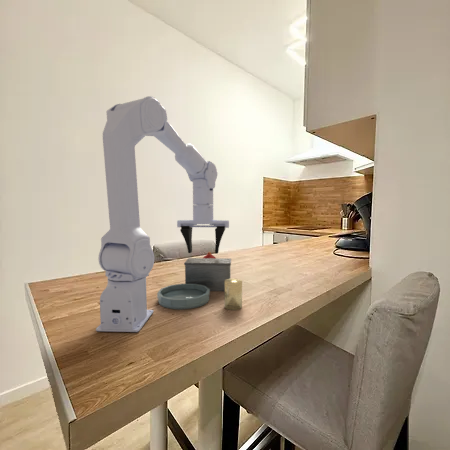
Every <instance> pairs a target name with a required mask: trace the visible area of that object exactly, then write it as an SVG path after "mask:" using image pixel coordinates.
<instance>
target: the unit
mask: <svg viewBox="0 0 450 450" xmlns="http://www.w3.org/2000/svg"><path fill="white" fill-rule="evenodd" d="M183 263H184V264H183V265H184V273H185V274H184V275H185V276H184V277H185V278H184V279H185V280H184V282H185V283H184V284H198V285H204V286H206V287H207V288H209V289H210V292H224V281H225V280H226V279H232V278H231V271H232V270H231V267H232V258H224V257H223V258H217V257H215V258H203V257H202V258H201V257H196V258H195V257H188V258H187V259H186V260H185V261H184V262H183Z"/></svg>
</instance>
